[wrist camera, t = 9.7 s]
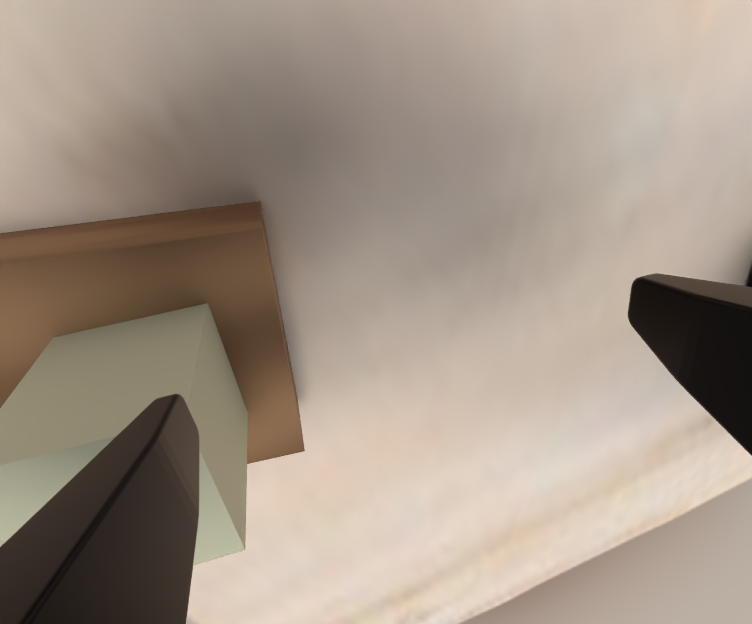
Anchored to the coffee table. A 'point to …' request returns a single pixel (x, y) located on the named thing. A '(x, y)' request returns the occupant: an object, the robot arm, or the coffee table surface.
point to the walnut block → (157, 299)
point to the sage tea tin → (127, 416)
